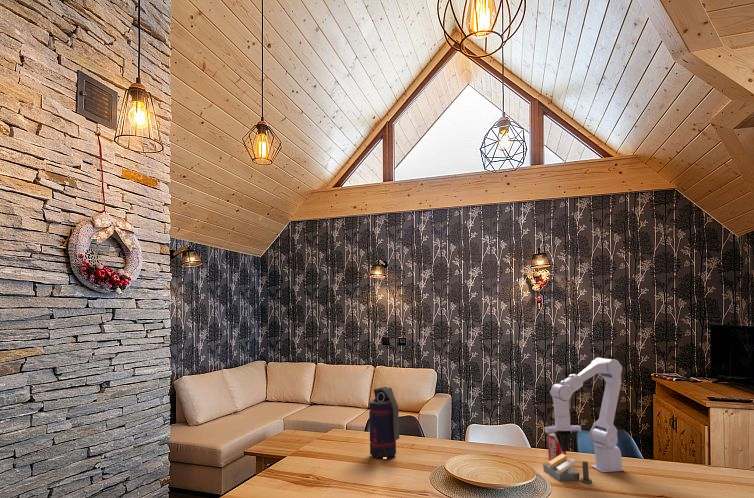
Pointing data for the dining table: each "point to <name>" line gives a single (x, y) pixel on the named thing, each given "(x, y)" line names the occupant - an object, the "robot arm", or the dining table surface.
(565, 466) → the paddle beige
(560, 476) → the grey tray
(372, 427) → the grenade
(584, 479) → the post
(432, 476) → the dining table surface
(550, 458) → the soda can
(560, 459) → the paddle amber
